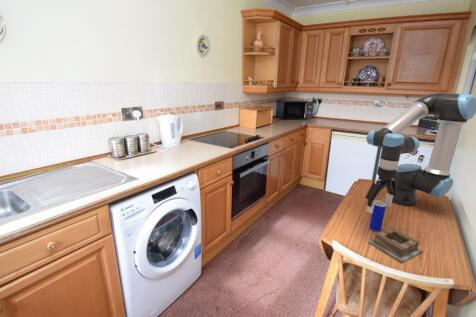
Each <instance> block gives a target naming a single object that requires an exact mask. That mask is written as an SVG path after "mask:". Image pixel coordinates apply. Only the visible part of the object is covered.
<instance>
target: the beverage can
mask: <svg viewBox="0 0 476 317" xmlns="http://www.w3.org/2000/svg"><path fill="white" fill-rule="evenodd" d="M386 208H387V206H386V203H385V201H383V200H375V204H374V208H373V213H372V214H371V217H370V221H369V227H368V228H369V230H370V231H372V232H375V233H379V232H382V226H383V222H384V217H385V214H386Z"/></svg>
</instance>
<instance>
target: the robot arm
mask: <svg viewBox="0 0 476 317" xmlns="http://www.w3.org/2000/svg"><path fill="white" fill-rule="evenodd" d="M475 115H476V97H475V96H474V95H473V94H466V93H448V92H447V93H446V92H445V93H443V92H434V93H431V94H427V95H424V96H422V97H421V98H418V99H417V100H415V101H413V102H412V103H411V104H410V105H409V107H408V109H406V110H405V111H404V112H402V113H400V114H398V116H396V117H395V118H394V119H393V120H391V121H390V122H388V123H387V124H386V125H384V126H382V128H380V129H379V130H370V131H368V133H367V135H366V143H367V144H368V145H370V146H374V147H378V148H381V152H380V156H379V161H378V167H377V171H376V174H377V176H378V178H373V180H372V183H371V185H370V187H369V190H368V191H367V193H366V195H365V199H366V200H367V206H366V210H365V211H366V212H368V213H369V214H371V215H372V213H373V208H374V204H375V201H376V200H375V199H376V198H377V196H378V195H379V193H380V192H381V190H383V189H386V190H387V192H388V193H386V197H385V201H384V202H385V203H386V208H390V209H391V206H392V203H394V204H396V205H400V206H405V207H407V206H408V207H414V206H416V205H417V202H418V198H417V191H420V192H422V193H425V194H428V195H430V196H434V197H437V198H440V197H441V198H442V197H444V196H445V195H446V194H448V192H449V191H450V190H451V189H452V187H453V185H454V179H453V178H451V173H450V171H449V168H450V164H451V160H452V158H453V154H454V150H455V148H456V144H457V142H458V138H459V135H460V132H461V129H462V126H463V125H465V124H467V122H468V121H469V120H472V118H474V116H475ZM427 116H437V119H436V120H437V122H439V127H438V129H437V133H436V137H435V139H434V144H433V148H432V151H431V155H430V158H429V162H428V165H427V166H426V167H424V168H422V166H421V165H419V164H415V163H414V164H413V163H402V164H399V163H400V158H401V155H403V154H410V153H413V152H416V151H417V150H418V149H419V148H420V140H419V139H418V138H417V137H416V136H404V135H403V134H402V133H403V132H404V131H405V130H406V129H408V128H409V127H410V126H412V125H413V124H415V123H416V122H418V120H420V119H424V118H426V117H427Z"/></svg>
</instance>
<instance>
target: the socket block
mask: <svg viewBox="0 0 476 317" xmlns="http://www.w3.org/2000/svg"><path fill="white" fill-rule="evenodd" d="M368 244H370V245H371V246H372V247H374V248H375V249H378V250H379V251H381V252H382V253H384V254H386V255H387V256H389V257H390V258H392V259H394V260H395V261H397V262H398V263H400V264H404V263H405V262H407V261H409V260H411V259H413V258H415V257H417V256H419V255H420V254H422V253H423V252H424V251H423V250H422V249H421V248H419V244H420V241H419V240H418V239H415V238H413V237H411V236H409V235H407V234H406V233H403V232H402V231H399V230H398V229H396V228H394V227H390V228H387V229H385V230H381V231H379V232H376V233H375V235H374V238H372V239H370V240H368Z"/></svg>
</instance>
